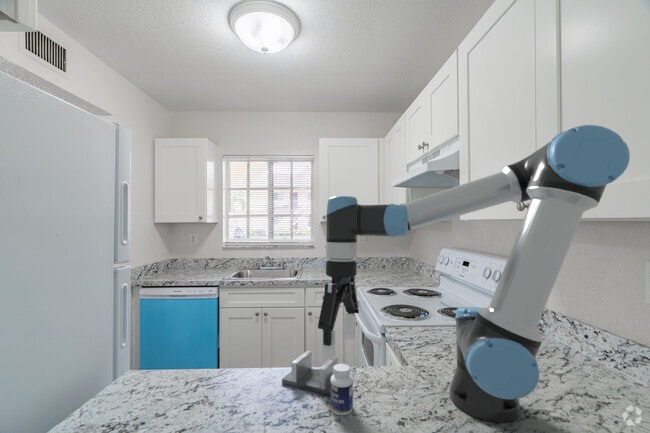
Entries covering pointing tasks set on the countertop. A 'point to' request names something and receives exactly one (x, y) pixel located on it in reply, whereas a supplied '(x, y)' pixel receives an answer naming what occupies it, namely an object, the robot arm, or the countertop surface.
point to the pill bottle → (341, 390)
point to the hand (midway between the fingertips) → (340, 348)
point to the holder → (310, 375)
